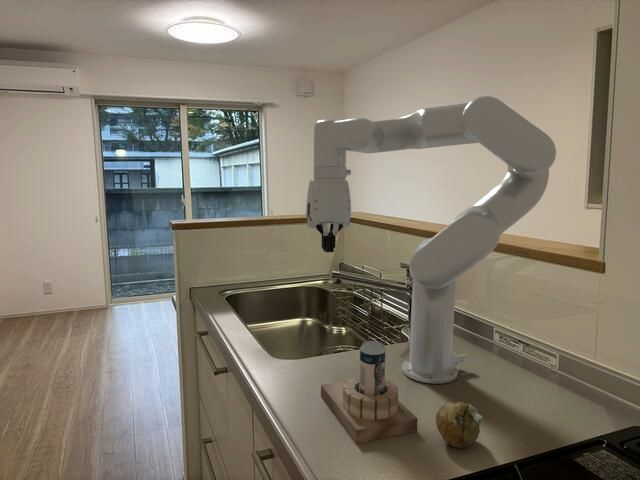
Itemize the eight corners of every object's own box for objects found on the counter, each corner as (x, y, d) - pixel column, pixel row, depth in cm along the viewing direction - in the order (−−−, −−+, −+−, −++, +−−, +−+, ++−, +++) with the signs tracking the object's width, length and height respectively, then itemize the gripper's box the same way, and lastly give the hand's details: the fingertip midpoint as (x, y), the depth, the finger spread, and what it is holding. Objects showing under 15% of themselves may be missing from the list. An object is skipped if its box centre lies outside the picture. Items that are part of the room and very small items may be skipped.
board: (373, 387, 102) (373, 361, 101) (416, 431, 86) (418, 400, 85) (320, 396, 98) (321, 368, 97) (356, 443, 82) (356, 410, 81)
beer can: (382, 412, 87) (384, 350, 85) (356, 409, 88) (358, 347, 86) (384, 400, 92) (387, 341, 90) (360, 397, 93) (362, 338, 91)
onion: (477, 432, 86) (480, 390, 84) (482, 458, 78) (485, 412, 77) (434, 426, 87) (436, 385, 86) (434, 451, 80) (437, 407, 78)
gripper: (352, 174, 117) (350, 247, 120) (294, 173, 112) (294, 250, 115) (365, 174, 110) (363, 252, 113) (304, 174, 105) (303, 255, 108)
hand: (328, 251), depth 114 cm, fingers closed
